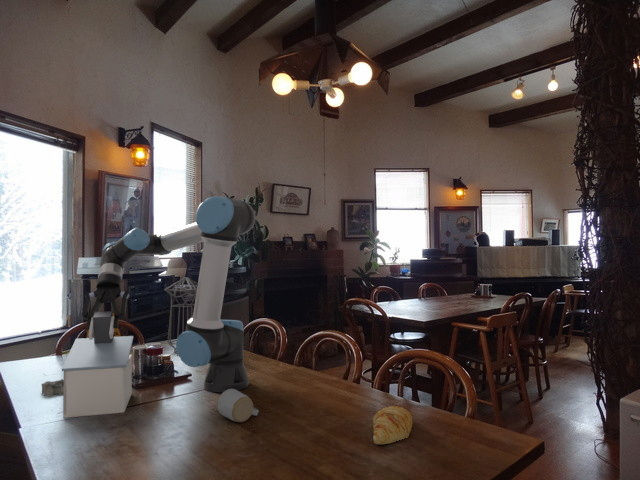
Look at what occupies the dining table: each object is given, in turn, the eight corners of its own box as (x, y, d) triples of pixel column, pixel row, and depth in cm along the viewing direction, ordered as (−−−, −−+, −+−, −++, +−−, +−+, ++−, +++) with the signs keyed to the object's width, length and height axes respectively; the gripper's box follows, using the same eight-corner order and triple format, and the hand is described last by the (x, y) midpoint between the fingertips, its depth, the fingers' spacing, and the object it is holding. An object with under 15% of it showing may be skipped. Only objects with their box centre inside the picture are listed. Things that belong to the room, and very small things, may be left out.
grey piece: (43, 397, 150) (43, 385, 150) (40, 392, 156) (40, 379, 156) (79, 391, 156) (79, 379, 156) (76, 386, 162) (76, 374, 162)
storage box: (77, 398, 148) (78, 357, 148) (131, 394, 152) (131, 354, 152) (63, 417, 130) (63, 371, 131) (124, 412, 135) (124, 367, 135)
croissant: (388, 465, 108) (402, 438, 107) (353, 438, 113) (367, 411, 111) (415, 432, 127) (428, 409, 125) (384, 410, 131) (397, 387, 129)
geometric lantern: (162, 354, 211) (162, 278, 213) (178, 348, 226) (178, 277, 228) (194, 355, 208) (194, 277, 210) (208, 349, 224) (208, 276, 226)
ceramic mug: (232, 426, 123) (233, 397, 124) (216, 418, 129) (217, 391, 130) (264, 417, 131) (265, 390, 131) (248, 410, 137) (248, 384, 137)
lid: (76, 340, 147) (74, 312, 145) (133, 338, 152) (132, 310, 149) (61, 371, 131) (59, 339, 128) (126, 367, 135) (125, 336, 133)
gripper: (138, 286, 163) (133, 341, 147) (82, 287, 158) (70, 345, 142) (137, 271, 158) (131, 327, 142) (78, 272, 153) (65, 330, 137)
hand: (100, 336), depth 142 cm, fingers closed on lid, 5 cm apart
